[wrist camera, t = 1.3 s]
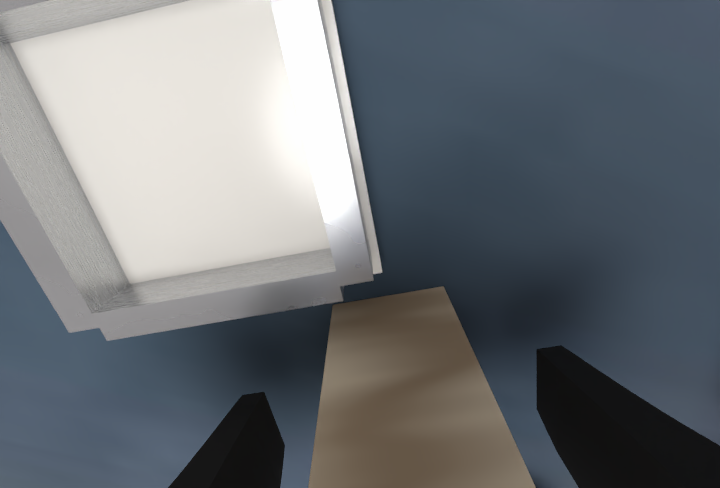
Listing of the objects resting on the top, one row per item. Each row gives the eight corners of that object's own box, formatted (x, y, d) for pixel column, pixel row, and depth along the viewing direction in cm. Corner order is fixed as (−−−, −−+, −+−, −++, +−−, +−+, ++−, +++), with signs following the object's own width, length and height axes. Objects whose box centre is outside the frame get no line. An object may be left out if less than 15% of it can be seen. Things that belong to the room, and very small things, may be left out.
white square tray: (305, -79, 7) (291, -126, 5) (374, 267, 10) (376, 295, 8) (-46, 8, 7) (-142, -14, 6) (116, 312, 10) (77, 345, 9)
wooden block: (443, 286, 11) (571, 566, 4) (453, 373, 12) (564, 690, 6) (333, 304, 11) (294, 595, 4) (354, 388, 12) (348, 709, 6)
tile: (317, -75, 7) (313, -95, 7) (380, 260, 10) (382, 272, 10) (-22, 9, 8) (-61, -1, 7) (129, 304, 11) (112, 319, 10)
